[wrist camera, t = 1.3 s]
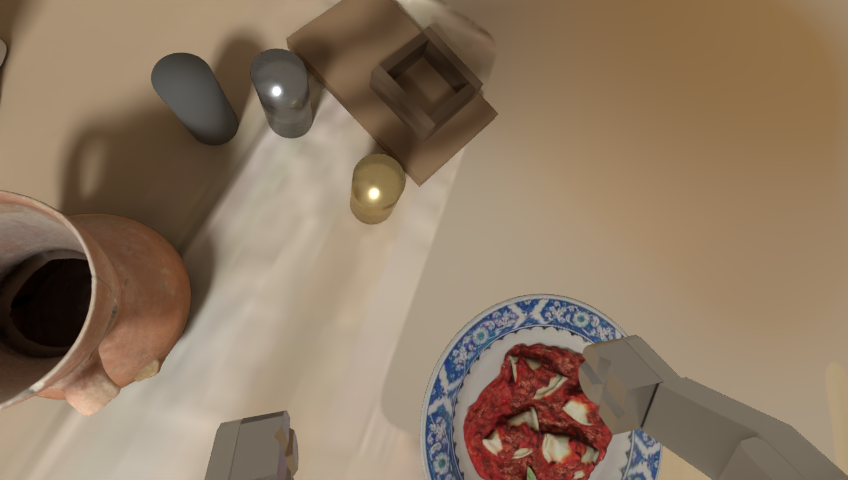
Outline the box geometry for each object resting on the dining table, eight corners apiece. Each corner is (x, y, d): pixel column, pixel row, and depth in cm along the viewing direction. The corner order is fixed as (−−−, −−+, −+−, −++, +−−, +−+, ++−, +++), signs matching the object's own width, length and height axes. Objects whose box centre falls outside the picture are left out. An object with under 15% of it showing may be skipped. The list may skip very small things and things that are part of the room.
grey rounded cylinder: (178, 120, 38) (137, 73, 31) (216, 94, 39) (186, 42, 32) (210, 154, 38) (178, 115, 31) (247, 127, 40) (225, 83, 32)
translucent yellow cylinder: (340, 201, 40) (341, 176, 32) (372, 174, 41) (380, 143, 34) (371, 233, 40) (378, 215, 33) (402, 205, 41) (416, 181, 34)
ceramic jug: (245, 322, 37) (188, 329, 23) (93, 440, 33) (-84, 536, 19) (118, 171, 36) (-14, 88, 23) (-48, 272, 33) (-329, 246, 19)
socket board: (288, 47, 42) (282, 17, 37) (371, -10, 45) (375, -44, 41) (419, 186, 42) (428, 172, 38) (493, 119, 45) (509, 99, 41)
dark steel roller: (258, 114, 40) (238, 68, 32) (292, 89, 41) (281, 39, 33) (288, 146, 40) (276, 108, 32) (322, 120, 41) (318, 77, 33)
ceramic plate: (484, 251, 43) (494, 247, 40) (677, 361, 45) (700, 365, 42) (366, 495, 36) (369, 511, 33) (598, 606, 39) (619, 630, 36)
